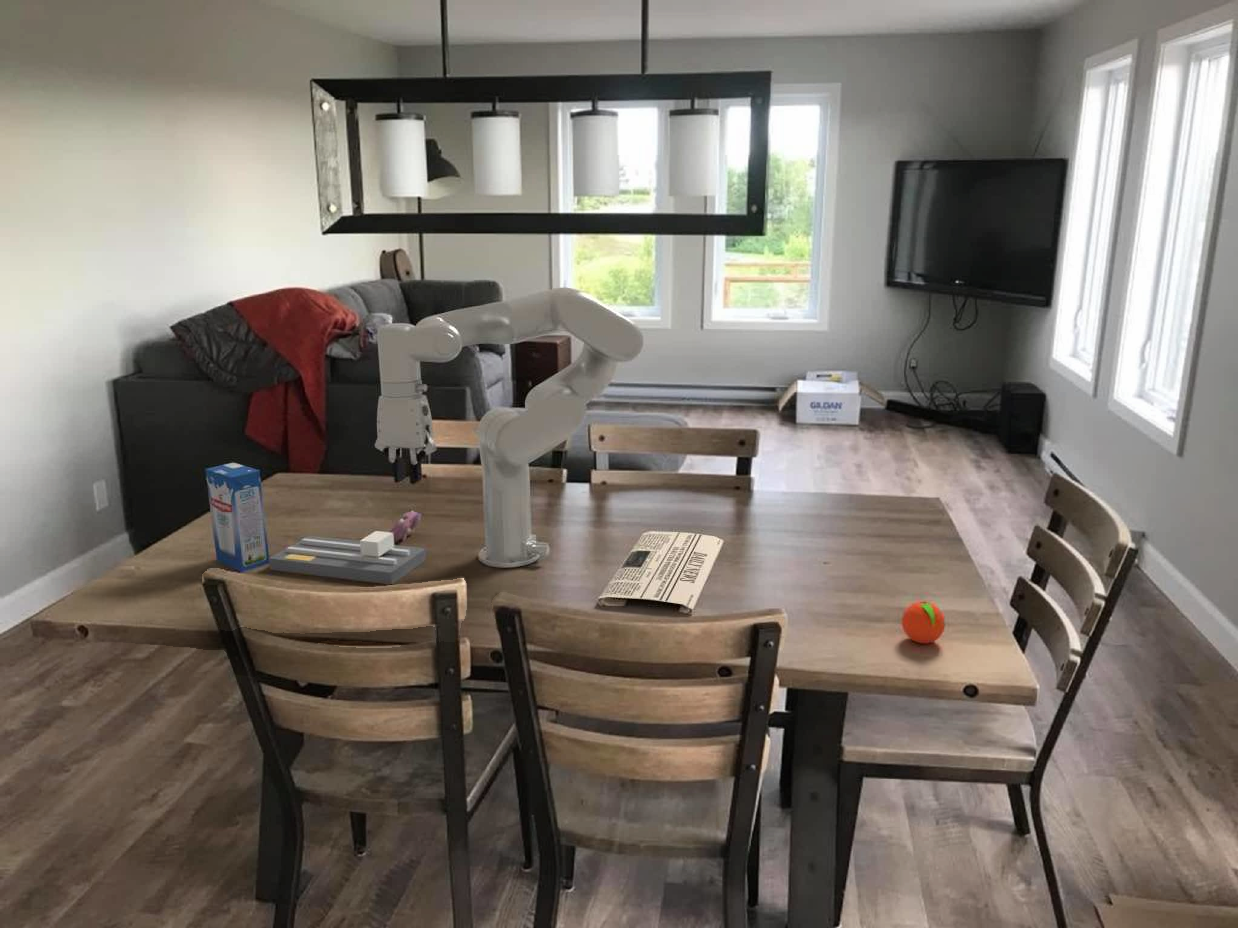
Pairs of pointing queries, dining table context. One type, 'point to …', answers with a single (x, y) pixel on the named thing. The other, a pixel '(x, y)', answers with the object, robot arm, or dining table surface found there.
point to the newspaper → (664, 569)
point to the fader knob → (377, 543)
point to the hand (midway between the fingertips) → (407, 480)
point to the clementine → (923, 622)
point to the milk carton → (237, 516)
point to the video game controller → (405, 525)
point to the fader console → (347, 560)
